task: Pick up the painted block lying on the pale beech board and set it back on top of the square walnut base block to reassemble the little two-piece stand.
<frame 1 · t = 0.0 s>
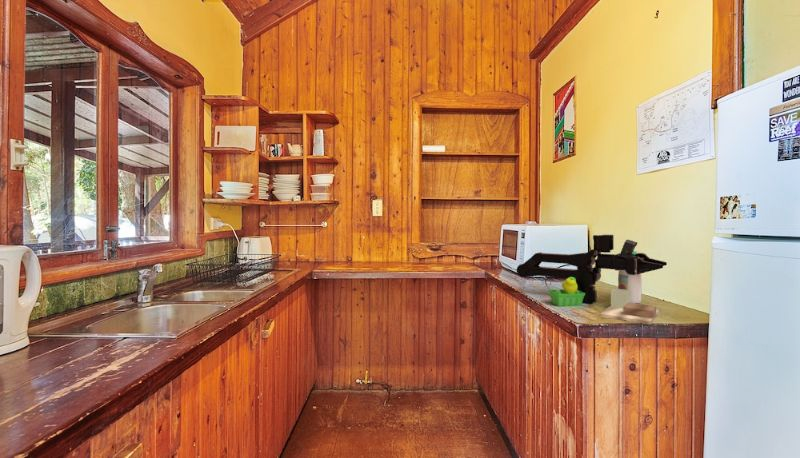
hand: (664, 265, 122), 17 cm above the countertop, tool horizontal, fingers open, 9 cm apart
milk bottle: (629, 301, 139), on the countertop
fruit basket: (567, 305, 136), on the countertop
board: (631, 313, 122), on the countertop
base block: (639, 313, 118), point 1 cm above the countertop, touching board
top block: (620, 306, 128), point 1 cm above the countertop, touching board
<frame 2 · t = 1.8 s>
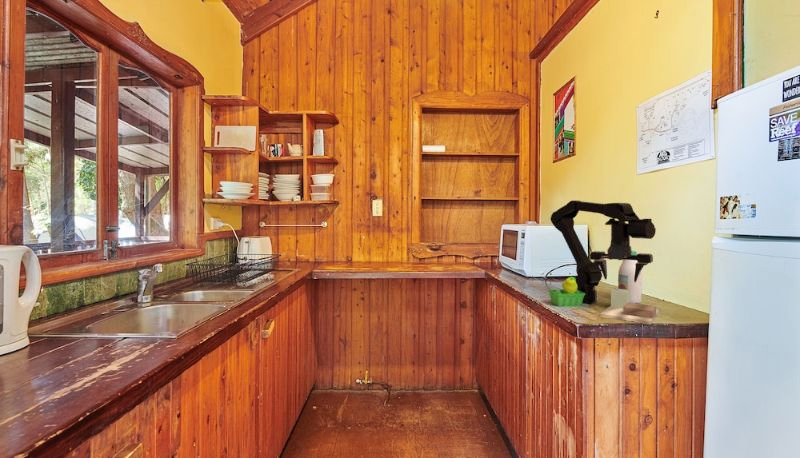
hand: (620, 280, 127), 10 cm above the countertop, tool pointing down, fingers open, 9 cm apart
nothing on the countertop moved.
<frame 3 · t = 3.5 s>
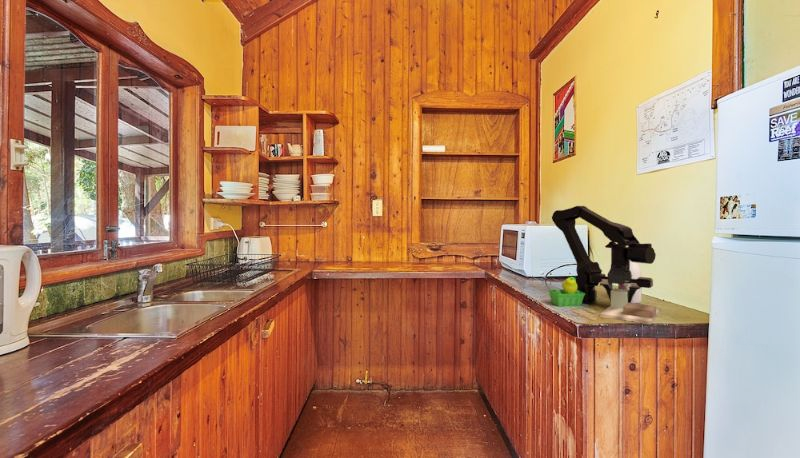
hand: (620, 303, 128), 2 cm above the countertop, tool pointing down, fingers closed on top block, 5 cm apart
top block: (620, 306, 128), point 1 cm above the countertop, touching board, gripper
everything else where it was.
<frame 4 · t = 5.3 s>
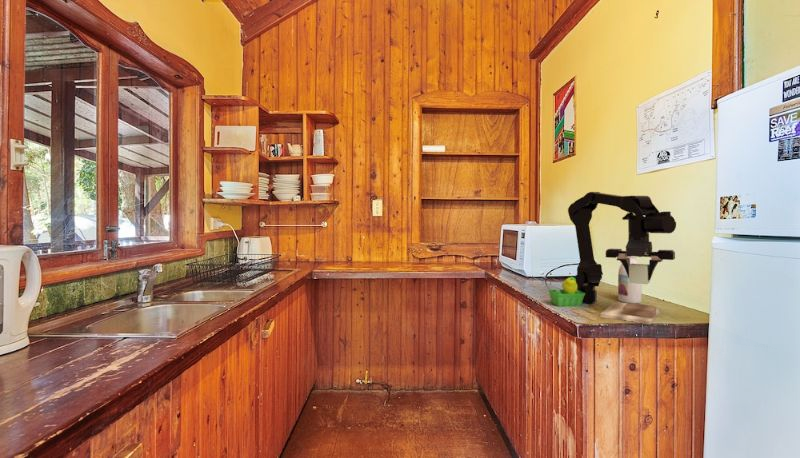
hand: (639, 279, 118), 12 cm above the countertop, tool pointing down, fingers closed on top block, 5 cm apart
top block: (639, 282, 118), point 11 cm above the countertop, touching gripper
everything else where it was.
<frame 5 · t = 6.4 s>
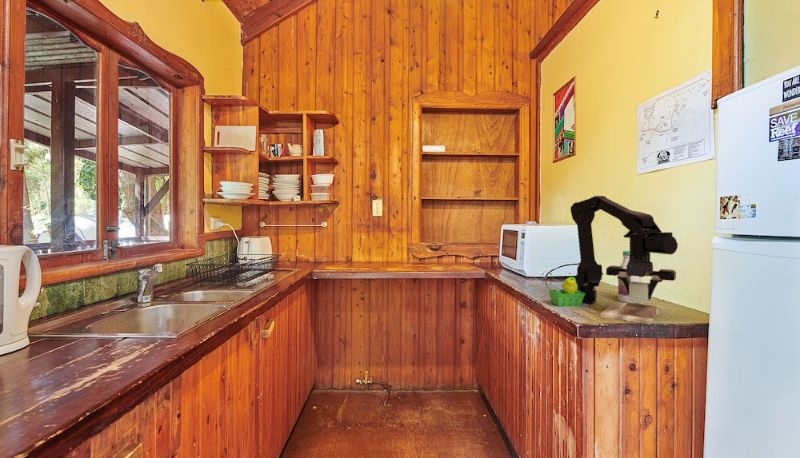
hand: (639, 298, 118), 6 cm above the countertop, tool pointing down, fingers closed on top block, 5 cm apart
top block: (639, 301, 118), point 5 cm above the countertop, touching gripper
everything else where it was.
when the fingers open (6 cm above the countertop, at t = 7.2 s): top block drops 1 cm, resting on base block.
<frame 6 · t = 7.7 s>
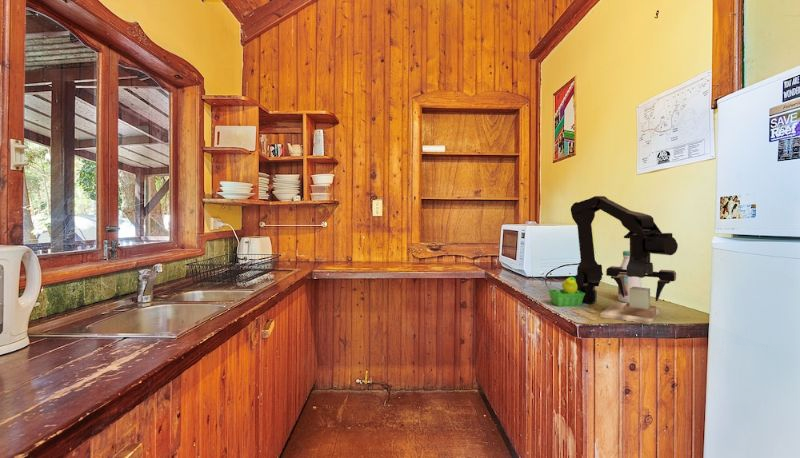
hand: (639, 299, 118), 6 cm above the countertop, tool pointing down, fingers open, 9 cm apart
base block: (639, 313, 118), point 1 cm above the countertop, touching board, top block
top block: (639, 306, 118), point 3 cm above the countertop, touching base block
everything else where it was.
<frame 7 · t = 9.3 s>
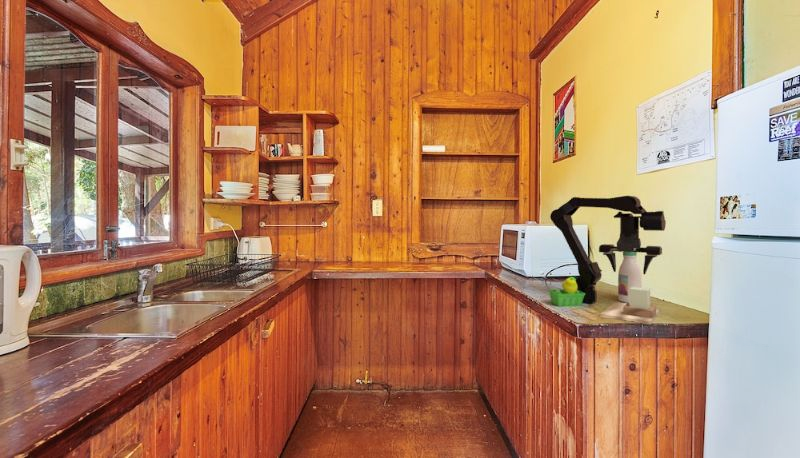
hand: (629, 273, 129), 13 cm above the countertop, tool pointing down, fingers open, 9 cm apart
nothing on the countertop moved.
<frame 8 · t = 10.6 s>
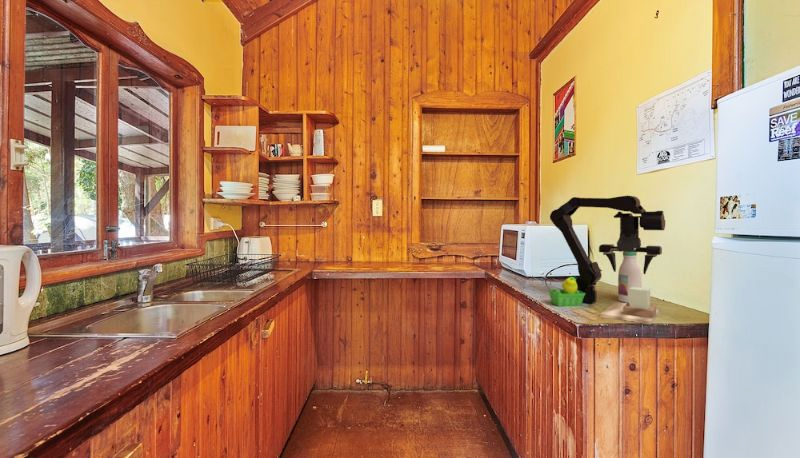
hand: (629, 272, 129), 13 cm above the countertop, tool pointing down, fingers open, 9 cm apart
nothing on the countertop moved.
at the end: top block 0.0 cm off-centre on the base block, point 2.5 cm above the base block's base; top block tilted 0°; the gripper is holding nothing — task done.
